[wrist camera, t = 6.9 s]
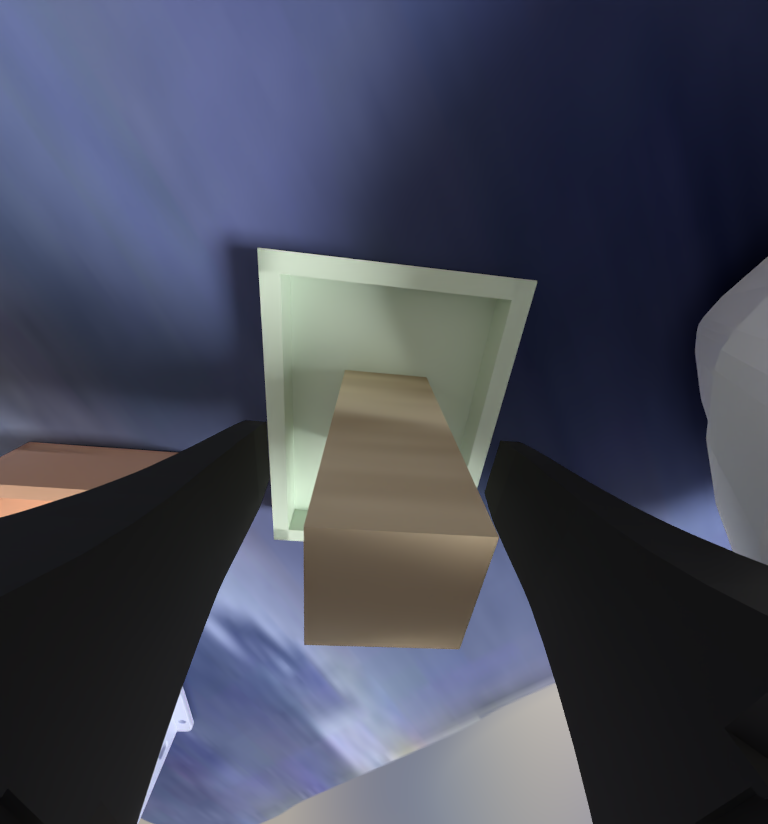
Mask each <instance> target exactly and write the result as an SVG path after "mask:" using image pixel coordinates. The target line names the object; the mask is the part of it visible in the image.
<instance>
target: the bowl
mask: <svg viewBox="0 0 768 824" xmlns="http://www.w3.org/2000/svg"><path fill="white" fill-rule="evenodd" d="M695 357H696V364H697V372H698V380H699V388H700V396H701V401H702V404H703V407H704V410H705V413H706V416H707V420H708V426H707V434H706V442H707V449H708V455H709V462H710V469H711V475H712V482H713V488H714V495H715V502H716V506H717V508H718V511H719V514H720V517H721V520H722V522H723V525H724V528H725V531H726V533H727V536H728V539H729V542H730V544H731V547H732V550H733V552H735V553H737V554H740V555H743V556H745V557H748V558H750V559H753V560H755V561H758V562H761V563H763V564H766V565H768V257H767V258H766V259H764V260H763V261H762V262H761V263H760V264H759V265H757V266H756V267H755V268H754V269H753V270H752V271H751V272H749V273H748V274H747V275H746V276H745V277H744V278H743V279H741V280H740V281H739V282H738V283H737V284H736V285H735V286H733V287H732V288H731V289H730V290H729V291H728V292H727V293H725V294H724V295H723V296H722V297H721V298H720V299H719V300H718V301H717V303H716V304H715V305H714V306H713V307H712V308H711V309H710V310H709V311H708V312H707V314H706V315H705V316H704V317H703V318H702V320H701V322H700V323H699V324H698V329H697V333H696V344H695Z"/></svg>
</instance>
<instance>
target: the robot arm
mask: <svg viewBox="0 0 768 824" xmlns="http://www.w3.org/2000/svg"><path fill="white" fill-rule="evenodd" d="M269 478H270V475H269V458H268V441H267V424H266V422H261V421H249V420H245V421H242V422H240V423H237V424H235V425H233V426H231V427H229V428H227V429H225V430H223V431H221V432H219V433H217V434H215V435H213V436H211V437H209V438H207V439H206V440H204V441H202V442H200V443H198V444H196V445H194V446H192V447H190V448H188V449H186V450H184V451H181V452H179V453H177V454H175V455H173V456H171V457H168V458H166V459H164V460H162V461H160V462H158V463H155V464H153V465H151V466H149V467H147V468H144V469H142V470H140V471H137V472H135V473H132V474H130V475H127V476H125V477H122V478H120V479H117V480H114V481H112V482H109V483H106V484H104V485H101V486H98V487H96V488H93V489H90V490H87V491H84V492H81V493H78V494H75V495H72V496H69V497H66V498H62V499H59V500H56V501H53V502H50V503H47V504H44V505H41V506H37V507H34V508H31V509H28V510H25V511H21V512H18V513H15V514H11V515H7V516H4V517H0V824H138V823H139V820H140V818H141V816H142V813H143V811H144V808H145V806H146V804H147V801H148V799H149V796H150V794H151V792H152V789H153V787H154V785H155V782H156V780H157V777H158V775H159V773H160V770H161V768H162V765H163V763H164V761H165V758H166V756H167V753H168V751H169V749H170V746H171V744H172V742H173V739H174V737H175V734H176V732H177V731H190V730H191V729H192V727H193V724H194V721H193V718H192V714H191V711H190V708H189V705H188V702H187V698H186V695H185V692H184V689H183V683H184V681H185V678H186V675H187V672H188V670H189V667H190V664H191V661H192V659H193V656H194V653H195V651H196V648H197V645H198V642H199V640H200V637H201V634H202V632H203V629H204V626H205V624H206V621H207V619H208V616H209V614H210V611H211V608H212V606H213V603H214V601H215V598H216V596H217V593H218V591H219V589H220V587H221V584H222V582H223V580H224V578H225V576H226V574H227V572H228V570H229V568H230V566H231V564H232V562H233V560H234V558H235V556H236V554H237V552H238V550H239V548H240V546H241V544H242V542H243V540H244V538H245V536H246V534H247V532H248V530H249V528H250V526H251V524H252V522H253V520H254V518H255V516H256V514H257V512H258V510H259V508H260V505H261V502H262V499H263V497H264V494H265V491H266V488H267V485H268V482H269ZM485 495H486V499H487V503H488V507H489V510H490V513H491V516H492V520H493V522H494V525H495V527H496V529H497V532H498V534H499V536H500V538H501V541H502V543H503V545H504V547H505V550H506V552H507V554H508V556H509V558H510V561H511V563H512V565H513V567H514V569H515V572H516V574H517V576H518V578H519V580H520V583H521V585H522V587H523V589H524V591H525V594H526V596H527V599H528V601H529V604H530V606H531V609H532V612H533V615H534V618H535V621H536V624H537V627H538V629H539V632H540V635H541V638H542V641H543V644H544V647H545V650H546V654H547V657H548V660H549V663H550V666H551V670H552V673H553V676H554V679H555V682H556V685H557V689H558V692H559V696H560V699H561V702H562V706H563V710H564V713H565V717H566V720H567V724H568V727H569V731H570V734H571V738H572V742H573V745H574V749H575V753H576V757H577V761H578V765H579V769H580V773H581V777H582V781H583V785H584V789H585V793H586V796H587V801H588V805H589V809H590V813H591V817H592V822H593V824H768V565H766V564H763V563H761V562H758V561H755V560H753V559H750V558H748V557H745V556H743V555H740V554H737V553H735V552H733V551H730V550H728V549H725V548H723V547H721V546H718V545H716V544H713V543H711V542H709V541H706V540H704V539H701V538H699V537H697V536H694V535H692V534H690V533H688V532H685V531H683V530H681V529H679V528H677V527H674V526H672V525H670V524H668V523H666V522H664V521H662V520H660V519H658V518H656V517H654V516H651V515H649V514H647V513H645V512H643V511H641V510H639V509H637V508H635V507H633V506H631V505H629V504H628V503H626V502H624V501H622V500H620V499H618V498H617V497H615V496H613V495H611V494H609V493H607V492H606V491H604V490H602V489H600V488H598V487H597V486H595V485H593V484H592V483H590V482H588V481H586V480H585V479H583V478H581V477H580V476H578V475H576V474H575V473H573V472H571V471H570V470H568V469H566V468H565V467H563V466H561V465H560V464H558V463H556V462H555V461H553V460H551V459H550V458H548V457H547V456H545V455H543V454H541V453H540V452H538V451H536V450H534V449H533V448H531V447H529V446H527V445H525V444H523V443H520V442H513V441H500V444H499V447H498V450H497V454H496V457H495V460H494V463H493V467H492V470H491V473H490V477H489V480H488V483H487V486H486V490H485Z"/></svg>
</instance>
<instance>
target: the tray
mask: <svg viewBox="0 0 768 824" xmlns="http://www.w3.org/2000/svg"><path fill="white" fill-rule="evenodd" d="M257 251H258V269H259V286H260V303H261V321H262V338H263V355H264V373H265V390H266V407H267V425H268V442H269V459H270V476H271V494H272V511H273V528H274V540H291V541H304V523H305V520H306V516H307V512H308V508H309V504H310V501H311V497H312V493H313V489H314V486H315V482H316V478H317V474H318V470H319V467H320V463H321V459H322V455H323V451H324V448H325V444H326V440H327V436H328V433H329V429H330V425H331V421H332V417H333V414H334V410H335V406H336V402H337V399H338V395H339V391H340V387H341V383H342V380H343V376H344V372H345V370H352V371H363V372H374V373H385V374H396V375H407V376H418V377H427V379H428V382H429V384H430V386H431V388H432V391H433V393H434V395H435V397H436V399H437V402H438V404H439V406H440V408H441V410H442V413H443V415H444V417H445V419H446V421H447V424H448V426H449V428H450V430H451V432H452V435H453V437H454V439H455V441H456V444H457V446H458V448H459V450H460V452H461V455H462V457H463V459H464V461H465V463H466V466H467V468H468V470H469V472H470V474H471V477H472V479H473V481H474V483H475V485H476V488H477V487H478V484H479V480H480V477H481V473H482V470H483V466H484V463H485V460H486V456H487V453H488V449H489V446H490V442H491V439H492V436H493V432H494V429H495V425H496V422H497V418H498V415H499V412H500V408H501V405H502V401H503V398H504V394H505V391H506V388H507V384H508V381H509V377H510V374H511V370H512V367H513V364H514V360H515V357H516V353H517V350H518V346H519V343H520V340H521V336H522V333H523V329H524V326H525V322H526V319H527V316H528V312H529V309H530V305H531V302H532V298H533V295H534V292H535V288H536V285H537V281H535V280H527V279H519V278H510V277H502V276H493V275H485V274H477V273H468V272H460V271H451V270H443V269H434V268H426V267H417V266H409V265H400V264H392V263H384V262H375V261H367V260H358V259H350V258H341V257H333V256H324V255H316V254H307V253H299V252H291V251H282V250H274V249H265V248H257Z"/></svg>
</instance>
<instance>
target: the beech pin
mask: <svg viewBox="0 0 768 824" xmlns="http://www.w3.org/2000/svg"><path fill="white" fill-rule="evenodd" d="M498 539H499V536H498V534H497V532H496V530H495V527H494V525H493V523H492V521H491V519H490V516H489V514H488V512H487V510H486V508H485V505H484V503H483V501H482V499H481V496H480V494H479V492H478V490H477V488H476V485H475V483H474V481H473V479H472V477H471V474H470V472H469V470H468V468H467V466H466V463H465V461H464V459H463V457H462V455H461V452H460V450H459V448H458V446H457V444H456V441H455V439H454V437H453V435H452V432H451V430H450V428H449V426H448V424H447V421H446V419H445V417H444V415H443V413H442V410H441V408H440V406H439V404H438V402H437V399H436V397H435V395H434V393H433V391H432V388H431V386H430V384H429V382H428V379H427V377H418V376H407V375H396V374H385V373H374V372H363V371H352V370H345V372H344V376H343V380H342V383H341V387H340V391H339V395H338V399H337V402H336V406H335V410H334V414H333V417H332V421H331V425H330V429H329V433H328V436H327V440H326V444H325V448H324V451H323V455H322V459H321V463H320V467H319V470H318V474H317V478H316V482H315V486H314V489H313V493H312V497H311V501H310V504H309V508H308V512H307V516H306V520H305V523H304V645H330V646H365V647H401V648H436V649H460V646H461V643H462V641H463V638H464V635H465V632H466V629H467V626H468V624H469V621H470V618H471V615H472V612H473V610H474V607H475V604H476V601H477V598H478V595H479V593H480V590H481V587H482V584H483V581H484V579H485V576H486V573H487V570H488V567H489V564H490V562H491V559H492V556H493V553H494V550H495V548H496V545H497V542H498Z"/></svg>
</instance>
